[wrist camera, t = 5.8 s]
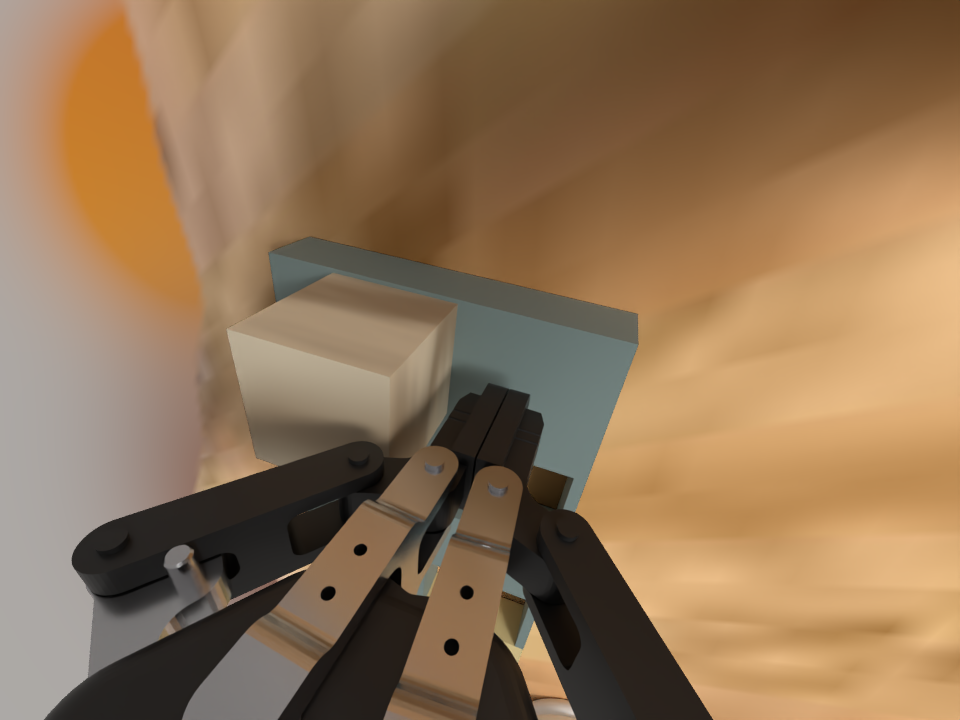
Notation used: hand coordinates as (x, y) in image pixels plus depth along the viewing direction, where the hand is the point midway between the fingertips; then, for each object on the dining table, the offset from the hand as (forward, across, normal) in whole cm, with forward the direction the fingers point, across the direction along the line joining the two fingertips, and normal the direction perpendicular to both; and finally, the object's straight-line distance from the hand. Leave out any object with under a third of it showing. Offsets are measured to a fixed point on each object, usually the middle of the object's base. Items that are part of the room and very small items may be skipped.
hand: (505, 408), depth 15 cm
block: (+1, +5, 0) cm, 5 cm away
